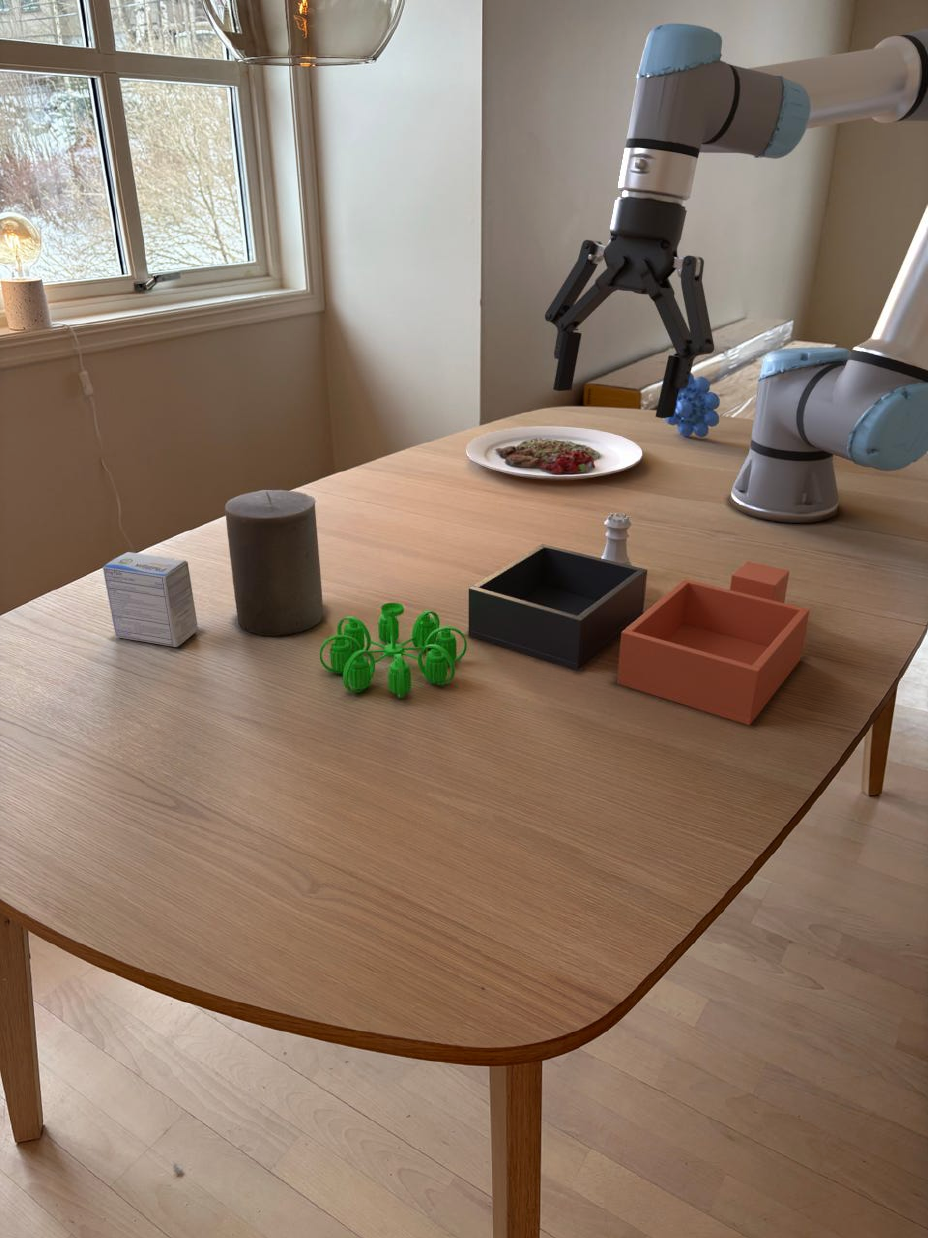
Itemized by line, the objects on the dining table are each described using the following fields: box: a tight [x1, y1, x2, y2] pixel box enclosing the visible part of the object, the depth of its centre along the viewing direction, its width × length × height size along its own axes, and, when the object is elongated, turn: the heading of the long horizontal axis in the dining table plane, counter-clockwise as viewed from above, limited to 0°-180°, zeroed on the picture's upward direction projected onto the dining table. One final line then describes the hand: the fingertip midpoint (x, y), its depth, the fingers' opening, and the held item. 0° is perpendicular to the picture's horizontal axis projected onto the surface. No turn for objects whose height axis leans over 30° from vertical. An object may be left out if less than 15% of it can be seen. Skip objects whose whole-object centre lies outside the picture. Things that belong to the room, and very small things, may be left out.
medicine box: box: [102, 551, 199, 648], centre depth 102 cm, size 8×4×9 cm, turn 71°
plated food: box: [465, 425, 643, 481], centre depth 163 cm, size 30×30×3 cm
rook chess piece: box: [600, 512, 633, 566], centre depth 117 cm, size 4×4×8 cm
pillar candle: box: [224, 489, 324, 637], centre depth 105 cm, size 10×10×15 cm
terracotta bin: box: [616, 578, 811, 726], centre depth 96 cm, size 16×14×6 cm
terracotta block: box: [729, 560, 790, 603], centre depth 109 cm, size 5×5×5 cm
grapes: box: [658, 372, 721, 438], centre depth 173 cm, size 12×7×12 cm, turn 60°
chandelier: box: [319, 602, 468, 699], centre depth 96 cm, size 15×15×7 cm
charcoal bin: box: [467, 543, 648, 672], centre depth 105 cm, size 16×14×6 cm
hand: (611, 403), depth 107 cm, fingers open, 13 cm apart
